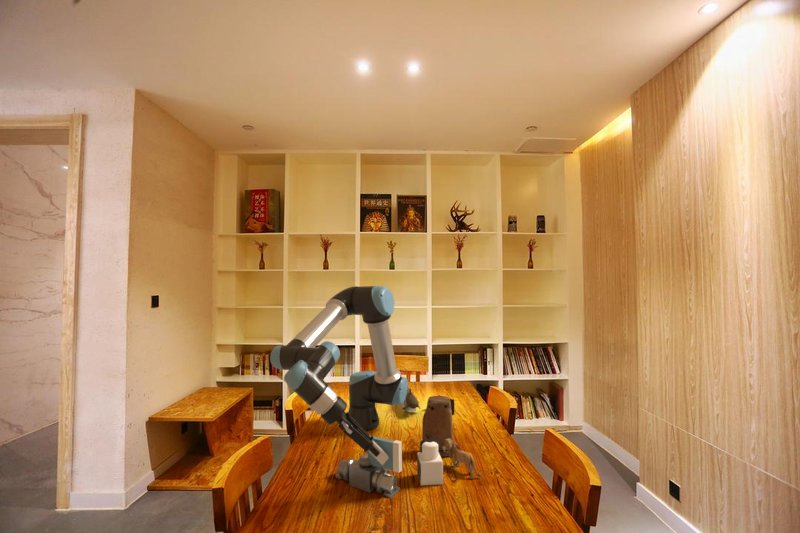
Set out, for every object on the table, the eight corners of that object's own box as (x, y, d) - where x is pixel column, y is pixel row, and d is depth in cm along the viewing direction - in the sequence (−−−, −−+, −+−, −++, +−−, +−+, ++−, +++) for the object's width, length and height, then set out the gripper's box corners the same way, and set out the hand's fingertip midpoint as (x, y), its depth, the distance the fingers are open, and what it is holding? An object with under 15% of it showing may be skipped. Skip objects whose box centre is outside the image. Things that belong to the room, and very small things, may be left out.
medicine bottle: (417, 474, 120) (416, 436, 120) (438, 473, 120) (438, 435, 121) (420, 486, 113) (419, 446, 113) (443, 484, 113) (442, 444, 114)
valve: (333, 481, 117) (333, 459, 118) (347, 472, 123) (347, 451, 123) (388, 502, 105) (388, 478, 106) (401, 490, 111) (401, 468, 112)
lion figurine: (439, 466, 125) (439, 439, 125) (449, 461, 129) (448, 434, 129) (477, 482, 115) (476, 452, 115) (486, 475, 118) (485, 447, 119)
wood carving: (408, 397, 205) (408, 377, 205) (425, 419, 170) (424, 394, 171) (393, 398, 203) (392, 378, 204) (406, 420, 169) (406, 395, 169)
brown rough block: (450, 448, 139) (449, 394, 140) (454, 457, 131) (453, 400, 132) (421, 449, 138) (421, 395, 139) (424, 458, 131) (423, 401, 132)
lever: (356, 464, 114) (356, 436, 114) (364, 458, 118) (364, 431, 118) (396, 475, 107) (396, 445, 107) (404, 468, 111) (403, 439, 111)
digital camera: (456, 414, 177) (456, 399, 177) (448, 416, 174) (448, 401, 174) (441, 408, 185) (441, 394, 186) (433, 411, 182) (433, 396, 182)
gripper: (319, 407, 113) (373, 459, 115) (319, 423, 99) (379, 481, 101) (337, 389, 114) (389, 440, 116) (339, 402, 101) (398, 460, 103)
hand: (385, 459), depth 109 cm, fingers closed
